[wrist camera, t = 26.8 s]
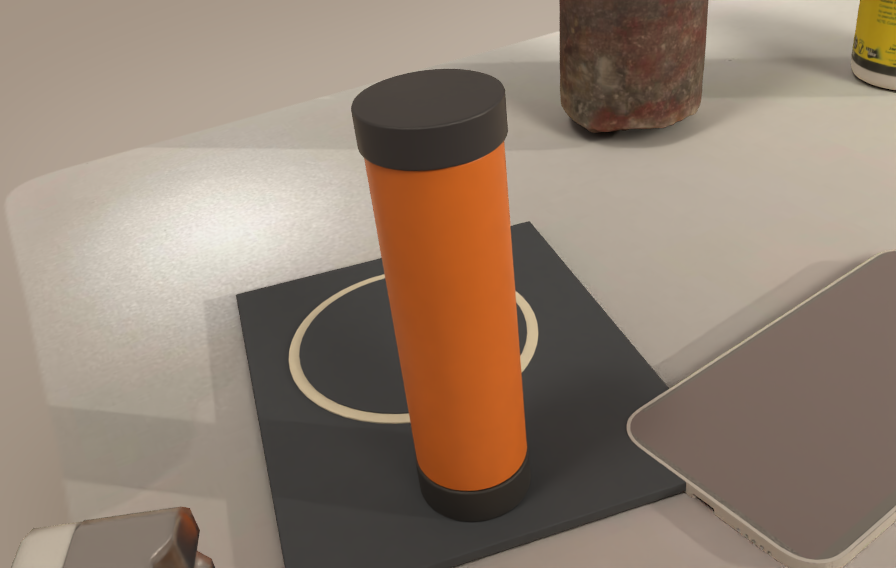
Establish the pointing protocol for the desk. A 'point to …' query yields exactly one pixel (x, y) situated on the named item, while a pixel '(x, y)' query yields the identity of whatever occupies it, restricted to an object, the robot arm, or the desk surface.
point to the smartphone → (794, 424)
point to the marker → (450, 281)
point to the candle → (631, 62)
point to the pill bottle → (875, 43)
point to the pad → (389, 428)
